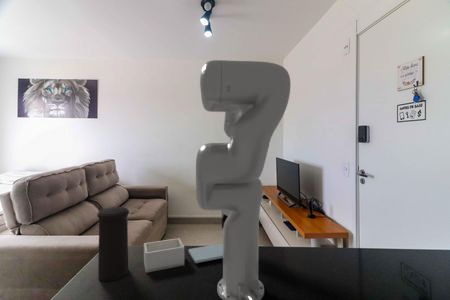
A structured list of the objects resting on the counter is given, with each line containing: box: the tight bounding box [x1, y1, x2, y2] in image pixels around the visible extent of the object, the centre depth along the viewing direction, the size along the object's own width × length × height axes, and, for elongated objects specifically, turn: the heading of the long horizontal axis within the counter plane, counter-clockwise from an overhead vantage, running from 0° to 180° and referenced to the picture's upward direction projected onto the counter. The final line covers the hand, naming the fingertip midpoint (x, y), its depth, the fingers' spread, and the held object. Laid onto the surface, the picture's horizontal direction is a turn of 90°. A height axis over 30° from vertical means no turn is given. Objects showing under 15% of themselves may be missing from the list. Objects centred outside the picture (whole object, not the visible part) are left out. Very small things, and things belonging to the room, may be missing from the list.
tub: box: [143, 237, 185, 273], centre depth 78 cm, size 8×12×6 cm, turn 113°
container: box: [96, 206, 130, 282], centre depth 71 cm, size 9×9×20 cm
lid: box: [188, 243, 223, 264], centre depth 84 cm, size 9×16×8 cm, turn 113°
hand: (231, 231), depth 85 cm, fingers open, 9 cm apart
